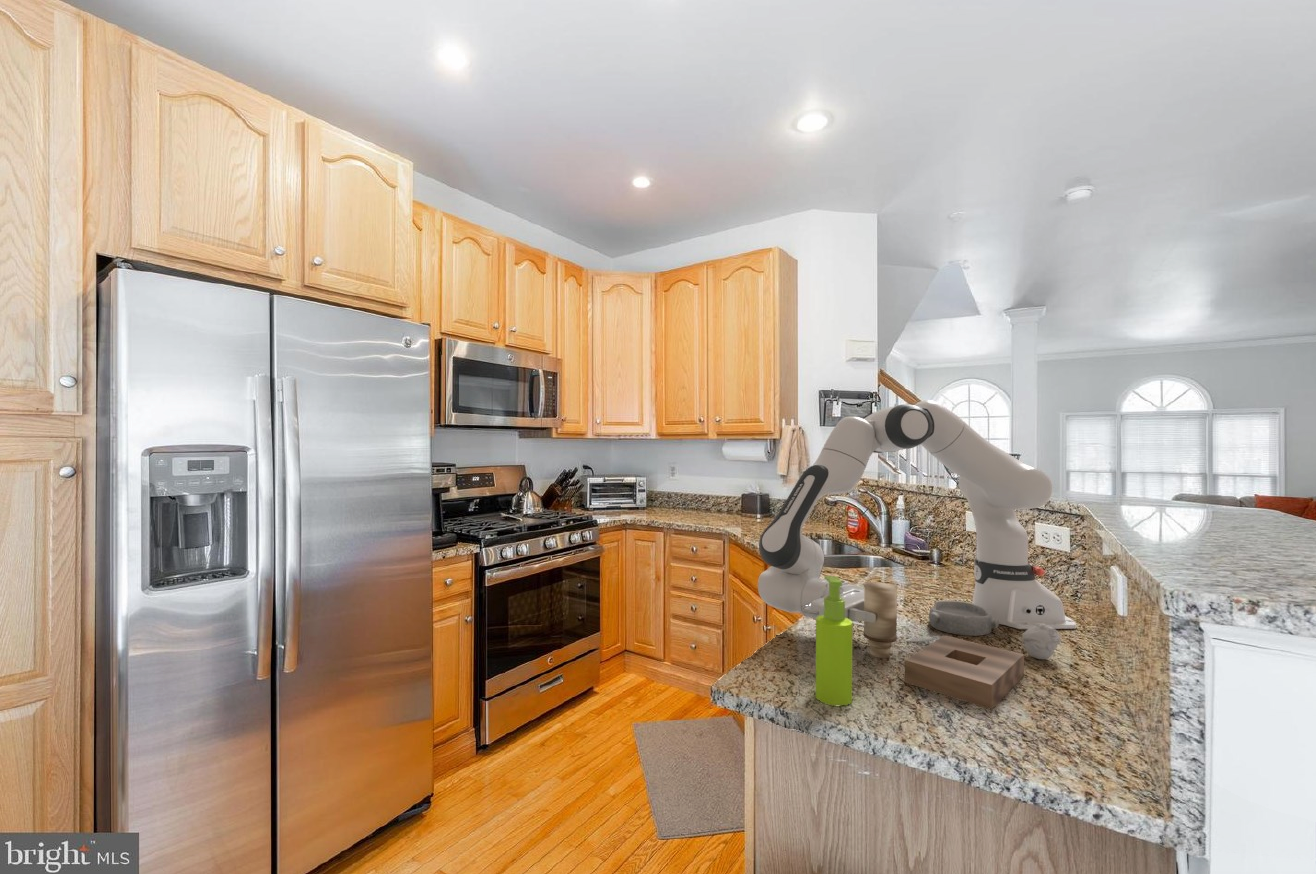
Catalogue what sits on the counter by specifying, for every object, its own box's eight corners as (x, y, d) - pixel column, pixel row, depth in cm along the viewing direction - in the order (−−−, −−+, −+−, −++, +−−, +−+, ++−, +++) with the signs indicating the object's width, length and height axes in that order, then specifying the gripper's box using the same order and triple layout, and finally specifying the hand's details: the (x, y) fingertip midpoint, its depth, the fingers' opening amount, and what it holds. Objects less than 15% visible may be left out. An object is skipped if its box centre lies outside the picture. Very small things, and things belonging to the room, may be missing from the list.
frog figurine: (1068, 664, 110) (1068, 629, 110) (1034, 664, 109) (1034, 629, 109) (1045, 652, 116) (1045, 619, 116) (1013, 653, 115) (1013, 619, 115)
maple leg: (891, 649, 116) (891, 583, 116) (900, 661, 110) (901, 590, 110) (860, 648, 117) (860, 581, 117) (868, 659, 110) (868, 589, 111)
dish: (932, 634, 127) (932, 612, 127) (922, 617, 140) (922, 597, 140) (1004, 642, 122) (1004, 619, 122) (986, 623, 136) (986, 602, 136)
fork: (839, 617, 139) (839, 610, 139) (935, 646, 120) (936, 638, 120) (831, 619, 137) (831, 612, 137) (928, 649, 118) (928, 640, 118)
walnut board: (944, 654, 114) (944, 635, 114) (1024, 675, 104) (1024, 654, 104) (904, 682, 100) (904, 660, 100) (991, 709, 90) (991, 685, 90)
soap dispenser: (845, 688, 97) (846, 574, 97) (855, 707, 90) (856, 584, 90) (811, 686, 97) (812, 573, 98) (818, 705, 90) (820, 582, 91)
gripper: (797, 594, 116) (860, 608, 106) (845, 578, 130) (904, 590, 120) (797, 624, 116) (860, 641, 106) (845, 605, 130) (904, 619, 120)
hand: (884, 614), depth 113 cm, fingers closed on maple leg, 6 cm apart
